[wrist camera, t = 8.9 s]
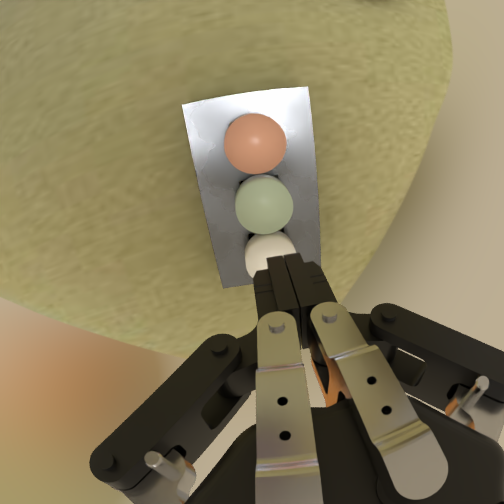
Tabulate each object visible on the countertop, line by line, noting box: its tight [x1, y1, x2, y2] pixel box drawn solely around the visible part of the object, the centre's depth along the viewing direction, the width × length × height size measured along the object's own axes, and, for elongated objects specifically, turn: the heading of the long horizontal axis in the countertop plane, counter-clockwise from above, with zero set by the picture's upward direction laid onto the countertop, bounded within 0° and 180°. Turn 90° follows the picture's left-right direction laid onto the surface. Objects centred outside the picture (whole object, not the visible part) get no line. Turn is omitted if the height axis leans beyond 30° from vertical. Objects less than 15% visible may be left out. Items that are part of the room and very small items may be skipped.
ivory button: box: [245, 231, 296, 278], centre depth 24 cm, size 4×4×4 cm
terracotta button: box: [224, 113, 287, 174], centre depth 19 cm, size 4×4×4 cm
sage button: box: [235, 174, 293, 234], centre depth 22 cm, size 4×4×4 cm
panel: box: [182, 87, 321, 288], centre depth 23 cm, size 16×9×2 cm, turn 8°
